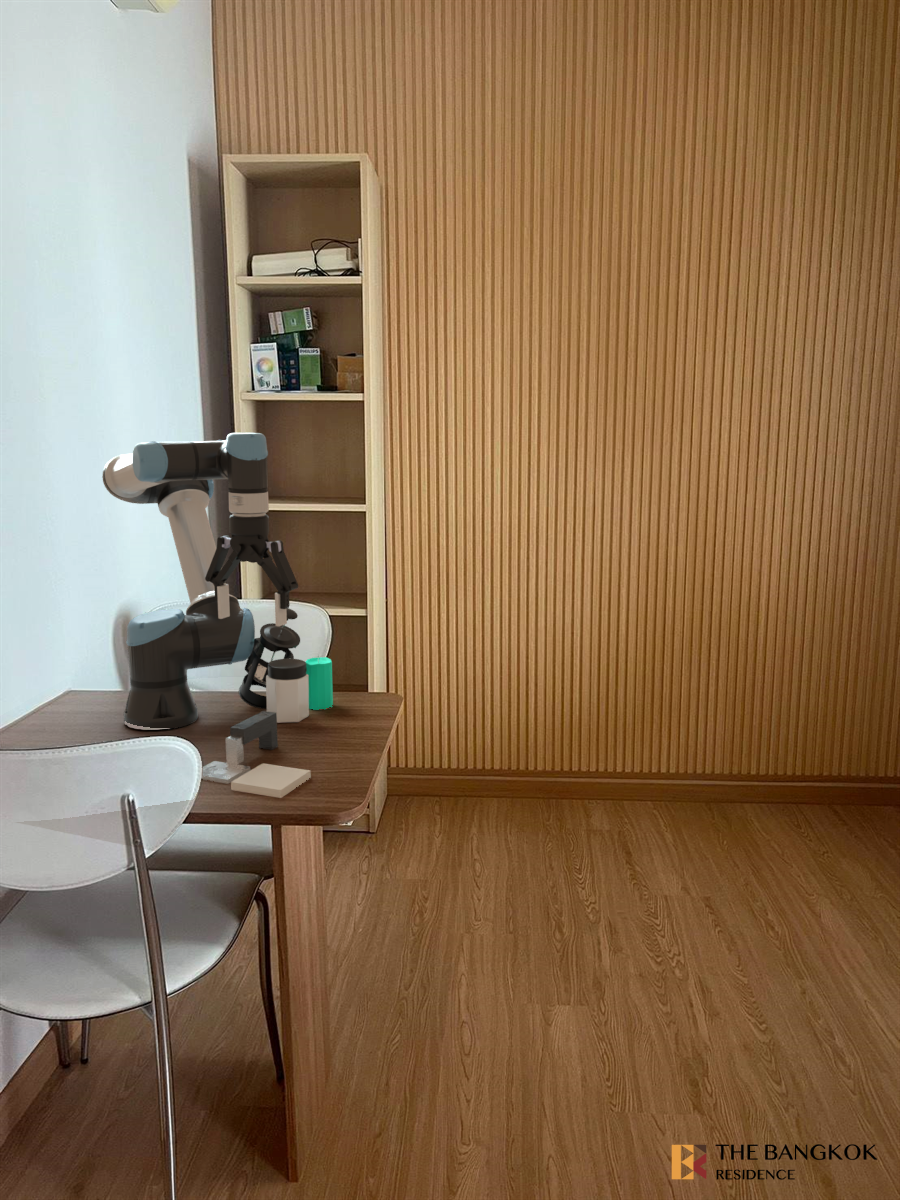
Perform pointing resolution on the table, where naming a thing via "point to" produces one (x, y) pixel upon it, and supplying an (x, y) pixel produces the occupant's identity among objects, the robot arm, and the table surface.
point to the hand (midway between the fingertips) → (252, 621)
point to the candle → (320, 682)
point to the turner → (241, 735)
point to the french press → (258, 668)
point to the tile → (271, 780)
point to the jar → (287, 690)
